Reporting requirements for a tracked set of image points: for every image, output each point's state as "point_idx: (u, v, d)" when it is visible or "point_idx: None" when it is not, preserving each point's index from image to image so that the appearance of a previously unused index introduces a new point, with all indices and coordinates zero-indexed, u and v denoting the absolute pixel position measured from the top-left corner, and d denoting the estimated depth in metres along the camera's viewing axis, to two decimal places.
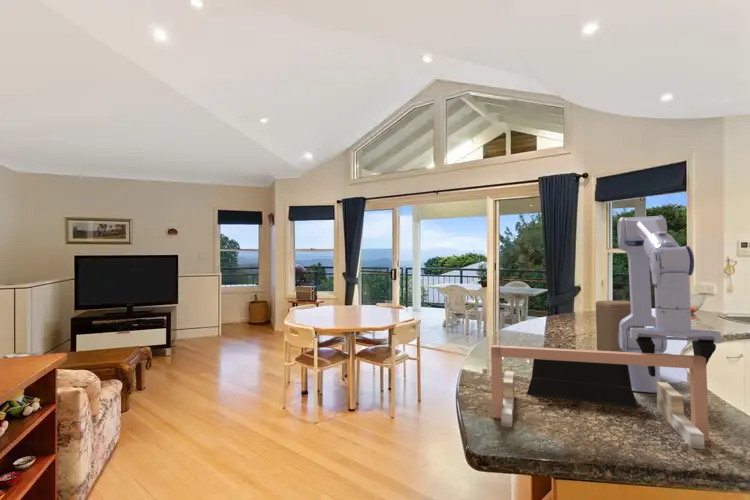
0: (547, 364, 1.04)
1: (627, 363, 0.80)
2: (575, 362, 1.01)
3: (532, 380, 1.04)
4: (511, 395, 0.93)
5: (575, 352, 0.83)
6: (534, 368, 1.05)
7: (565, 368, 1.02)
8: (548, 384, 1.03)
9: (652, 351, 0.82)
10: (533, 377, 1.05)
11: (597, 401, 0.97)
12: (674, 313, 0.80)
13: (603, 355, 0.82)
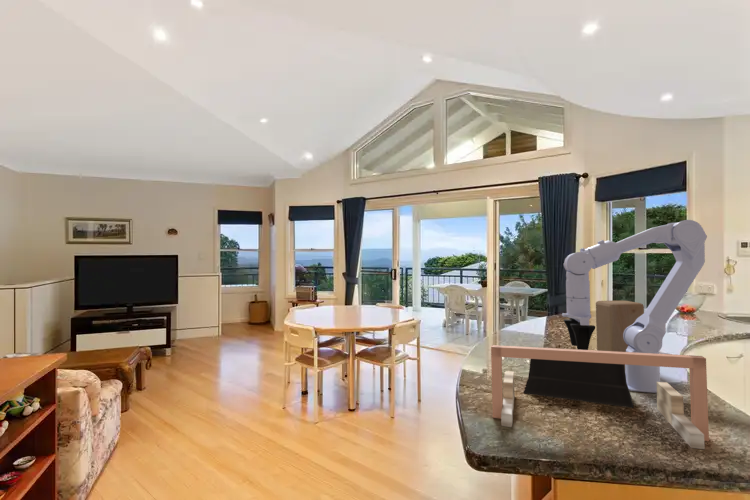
0: (544, 363, 1.04)
1: (627, 363, 0.80)
2: (571, 361, 1.02)
3: (529, 379, 1.05)
4: (511, 395, 0.93)
5: (575, 352, 0.83)
6: (531, 367, 1.06)
7: (562, 368, 1.02)
8: (544, 383, 1.03)
9: (567, 326, 1.16)
10: (530, 376, 1.06)
11: (593, 400, 0.97)
12: (566, 300, 1.13)
13: (603, 355, 0.82)
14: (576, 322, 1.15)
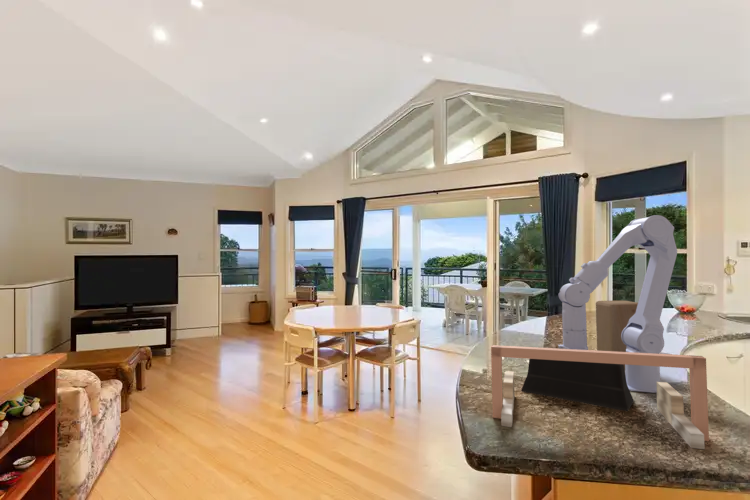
0: (542, 362, 1.05)
1: (627, 363, 0.80)
2: (569, 361, 1.01)
3: (527, 377, 1.07)
4: (511, 395, 0.93)
5: (575, 352, 0.83)
6: (530, 365, 1.07)
7: (559, 367, 1.02)
8: (541, 382, 1.04)
9: None
10: (528, 374, 1.07)
11: (587, 401, 0.96)
12: None
13: (603, 355, 0.82)
14: None
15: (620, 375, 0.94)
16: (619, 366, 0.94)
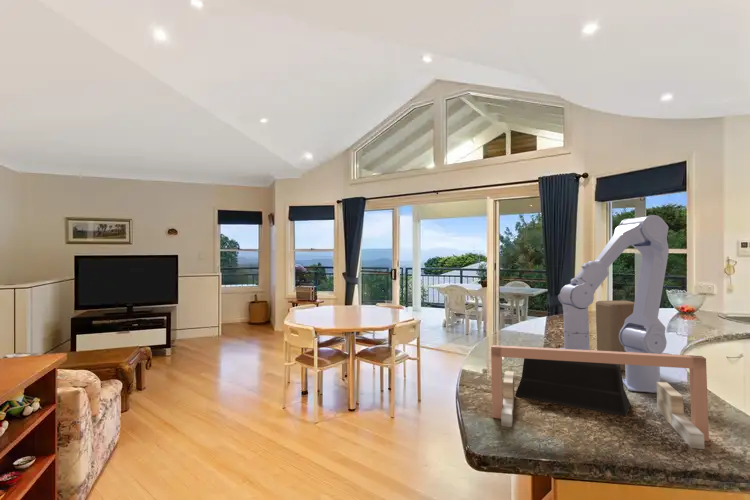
0: (537, 365, 1.02)
1: (627, 363, 0.80)
2: (564, 365, 0.98)
3: (521, 381, 1.03)
4: (511, 395, 0.93)
5: (575, 352, 0.83)
6: (524, 369, 1.03)
7: (554, 371, 0.99)
8: (536, 386, 1.01)
9: None
10: (523, 378, 1.03)
11: (584, 406, 0.93)
12: (564, 334, 1.07)
13: (603, 355, 0.82)
14: None
15: (617, 379, 0.91)
16: (616, 369, 0.92)
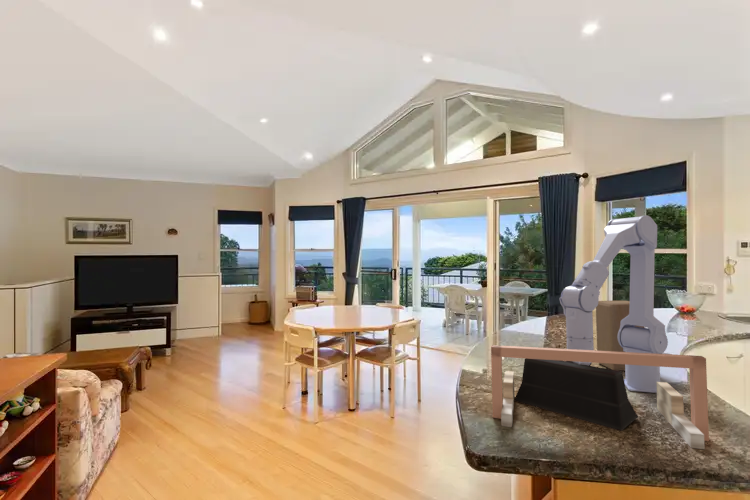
0: (536, 370, 0.97)
1: (627, 363, 0.80)
2: (563, 371, 0.92)
3: (521, 385, 0.99)
4: (511, 395, 0.93)
5: (575, 352, 0.83)
6: (524, 373, 0.99)
7: (553, 377, 0.94)
8: (535, 391, 0.96)
9: None
10: (523, 382, 0.99)
11: (580, 416, 0.87)
12: None
13: (603, 355, 0.82)
14: None
15: (616, 389, 0.83)
16: (615, 379, 0.84)
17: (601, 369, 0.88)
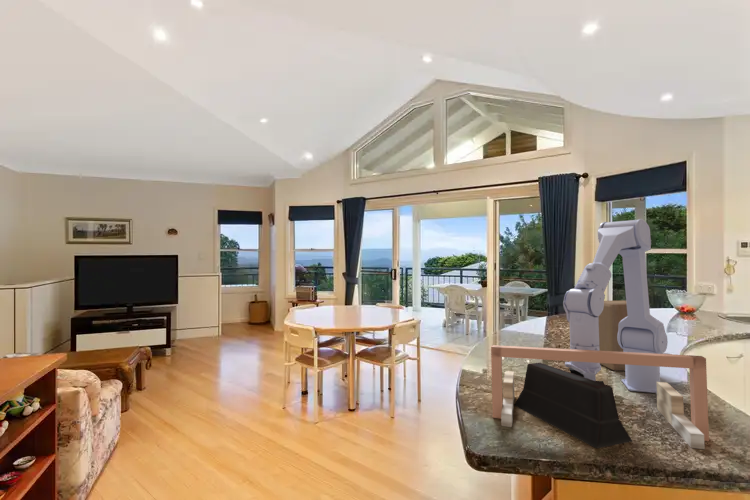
0: (535, 376, 0.92)
1: (627, 363, 0.80)
2: (556, 380, 0.87)
3: (522, 391, 0.96)
4: (511, 395, 0.93)
5: (575, 352, 0.83)
6: (525, 379, 0.95)
7: (548, 385, 0.89)
8: (532, 399, 0.92)
9: None
10: (524, 388, 0.95)
11: (563, 428, 0.81)
12: (570, 346, 0.92)
13: (603, 355, 0.82)
14: None
15: (598, 404, 0.76)
16: (598, 393, 0.76)
17: (592, 382, 0.80)
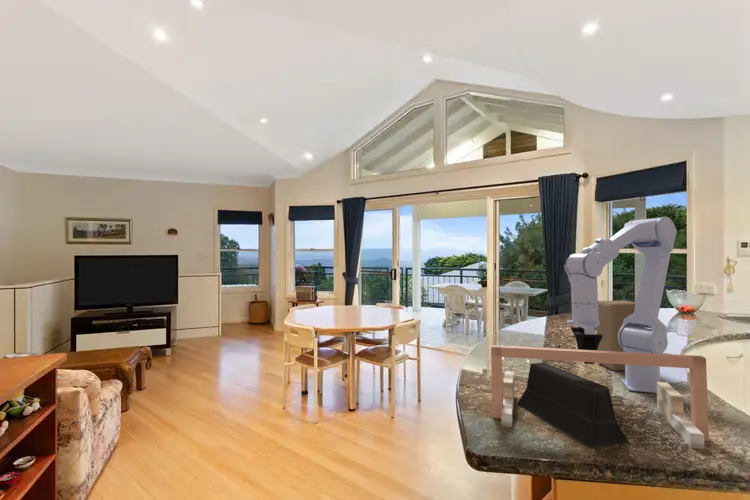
0: (537, 376, 0.93)
1: (627, 363, 0.80)
2: (555, 380, 0.87)
3: (525, 391, 0.96)
4: (511, 395, 0.93)
5: (575, 352, 0.83)
6: (528, 379, 0.96)
7: (548, 385, 0.89)
8: (533, 398, 0.92)
9: (574, 334, 1.05)
10: (527, 388, 0.96)
11: (561, 428, 0.82)
12: None
13: (603, 355, 0.82)
14: (584, 330, 1.04)
15: (593, 404, 0.76)
16: (593, 393, 0.76)
17: (590, 382, 0.80)
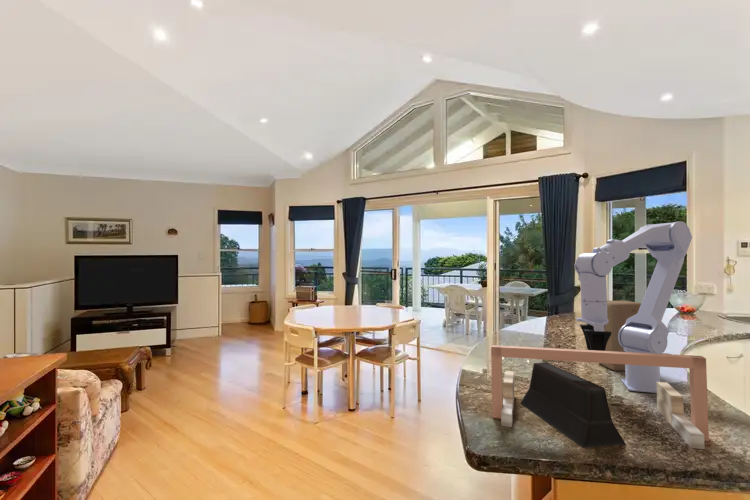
0: (539, 376, 0.93)
1: (627, 363, 0.80)
2: (555, 379, 0.87)
3: (528, 390, 0.96)
4: (511, 395, 0.93)
5: (575, 352, 0.83)
6: (531, 378, 0.96)
7: (549, 384, 0.89)
8: (535, 398, 0.93)
9: (583, 332, 1.07)
10: (530, 387, 0.96)
11: (558, 427, 0.82)
12: (581, 303, 1.04)
13: (603, 355, 0.82)
14: (593, 327, 1.06)
15: (588, 404, 0.76)
16: (588, 393, 0.76)
17: (587, 382, 0.80)
